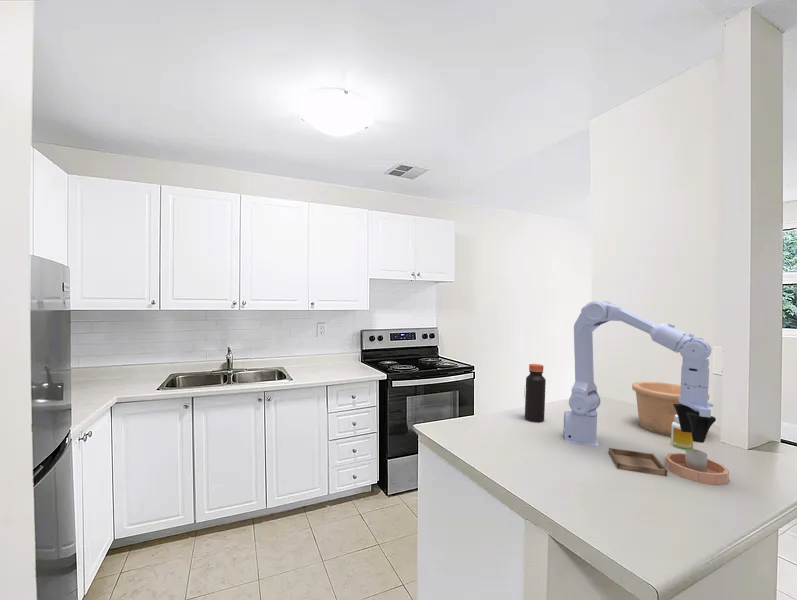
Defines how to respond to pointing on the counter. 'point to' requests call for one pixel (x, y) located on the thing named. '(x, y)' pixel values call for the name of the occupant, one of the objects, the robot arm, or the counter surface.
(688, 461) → the stone
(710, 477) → the bowl
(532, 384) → the vinegar
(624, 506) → the counter surface
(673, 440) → the supplement bottle
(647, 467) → the tray
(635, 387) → the pottery
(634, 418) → the counter surface
